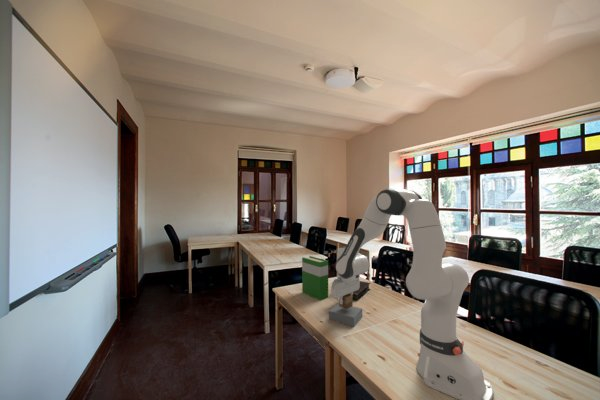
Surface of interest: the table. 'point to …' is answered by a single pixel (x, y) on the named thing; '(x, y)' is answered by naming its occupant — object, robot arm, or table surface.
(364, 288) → the diary
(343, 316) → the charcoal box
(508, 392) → the table surface
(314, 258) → the green cereal box
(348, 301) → the walnut block
